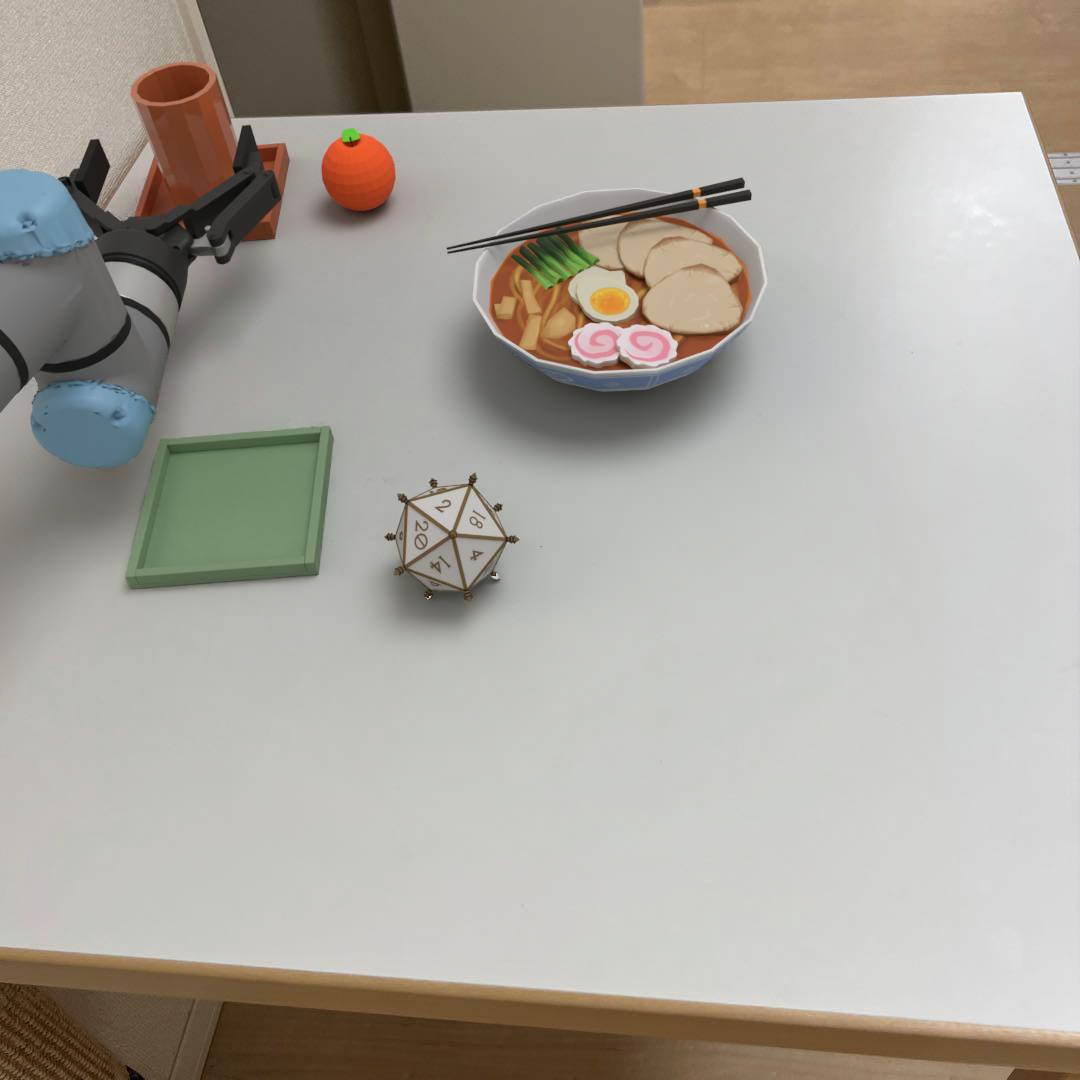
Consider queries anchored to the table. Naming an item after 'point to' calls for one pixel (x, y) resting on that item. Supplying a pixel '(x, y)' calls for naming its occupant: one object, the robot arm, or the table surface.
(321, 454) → the sage tray
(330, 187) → the clementine
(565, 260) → the ramen bowl
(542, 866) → the table surface
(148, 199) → the terracotta tray
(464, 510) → the game die
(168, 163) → the terracotta cup
